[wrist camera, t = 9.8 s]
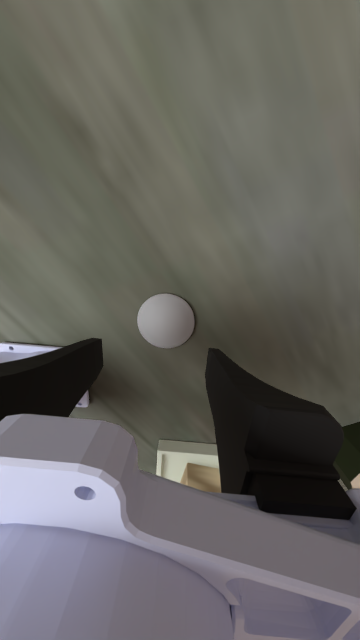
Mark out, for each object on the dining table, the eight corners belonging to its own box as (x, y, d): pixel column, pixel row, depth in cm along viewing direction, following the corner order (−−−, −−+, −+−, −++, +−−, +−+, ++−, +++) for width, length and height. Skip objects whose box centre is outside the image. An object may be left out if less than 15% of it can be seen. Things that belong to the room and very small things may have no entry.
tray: (155, 495, 28) (154, 508, 27) (159, 439, 24) (157, 450, 23) (232, 502, 28) (234, 515, 26) (247, 447, 24) (251, 458, 23)
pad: (137, 344, 20) (137, 345, 20) (138, 291, 18) (137, 291, 18) (191, 349, 20) (191, 350, 20) (197, 296, 18) (197, 296, 18)
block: (179, 483, 26) (178, 532, 21) (187, 462, 25) (187, 510, 20) (209, 488, 26) (214, 539, 21) (218, 468, 25) (226, 517, 20)
